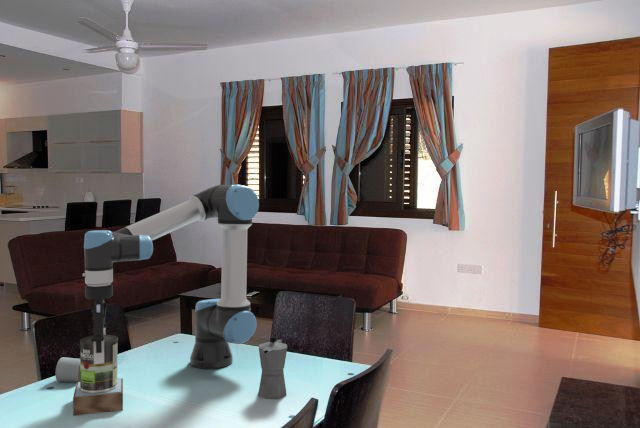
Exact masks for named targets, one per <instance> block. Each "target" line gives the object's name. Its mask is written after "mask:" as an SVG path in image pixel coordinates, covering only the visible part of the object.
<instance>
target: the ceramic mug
mask: <svg viewBox="0 0 640 428" xmlns="http://www.w3.org/2000/svg"><path fill="white" fill-rule="evenodd" d="M55 379H56V381H57V382H60V383H62V382H63V383H64V382H65V383H66V382H67V383H68V382H70V383H71V382H72V383H77V382H80V358H77V357H76V358H73V357H66V356H65V357H64V356H63V357H60V358H59V359H58V361H57V364H56V367H55Z"/></svg>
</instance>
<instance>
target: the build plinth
mask: <svg viewBox="0 0 640 428" xmlns="http://www.w3.org/2000/svg"><path fill="white" fill-rule="evenodd" d="M75 383H76V385H75V389H74V393H73V397H72V416H81V415H91V414H101V413H103V414H104V413H111V412H119V411H124V379H123V378H122V377H119V378H118V377H117V384H118V385H117V387H116V388H114V389H113V390H110V391H107V392H101V393H86V392H83V391H81V390H80V382H75Z"/></svg>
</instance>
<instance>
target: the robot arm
mask: <svg viewBox="0 0 640 428" xmlns="http://www.w3.org/2000/svg"><path fill="white" fill-rule="evenodd" d="M259 208H260V202H259V197H258V195H257V193H256V192H255V191H254V190H253V189H252V188H251V187H250V186H246V185H242V184H218V185H214V186H210V187H209V188H206V189H205V190H202V191H200V192H197V193H196V194H193V195H191V196H189V198H188V200H186V201H184V202H182V203H179V204H176V205H174V206H172V207H170V208H168V209H167V208H166V209H165V210H163V211H160V212H158V213H155V214H153V215H151V216H149V217H146V218H143V219H141V220H139V221H137V222H134V223H132V224H129V225H127V226H125V227H122V228H120V229H118V230H115V231H111V230H107V229H103V230H98V229H97V230H89V231H86V232H85V233H84V241H83V252H84V254H83V255H84V273H82V277H84V283H85V284H86V285H85V286H84V298H85V299H86V300H94V303H91V312H92V320H93V335H94V337H93V339H91V342H94V364H103V363H104V337H103V335H107V334H106V328H108V325H109V324H108V323H106V315H107V307H108V306H107V304H108V303H107V302H105V299H106V300H107V299H110V298H112V297H113V295H114V286H113V283H114V268H113V264H114V263H120V262H131V261H132V262H133V261H142V260H149V259H150V258H151V257H152V255H153V252H154V244H153V241H154V240H157V239H159V238H162V237H163V236H166V235H168V234H170V233H172V232H174V231H177V230H179V229H182V228H183V227H185V226H188V225H190V224H192V223H195V222H196V221H198V222H204V221H206V220H210V219H213V218H217V226H219V227H220V228H221V231H222V232H221V233H222V235H221V280H220V281H221V283H220V284H221V286H220V288H221V289H220V291H221V292H220V293H221V294H220V298H211V299H202V300H199V301H197V302H196V303H195V309H194V313H195V316H194V317H195V321H194V322H195V327H194V328H195V330H194V331H195V332H194V334H195V337H194V338H195V340H194V345H193V348H192V351H191V353H190V354H191V355H190V361H189V363H190V365H191V366H192V367H194V368H198V369H207V370H208V369H220V368H224V367H227V366H230V365H231V364H232V363H233V353H232V350H231V346H230V344H235V345H241V344H244V343H247V342H248V341H249V340H250V339H251V338H252V337H253V336H254V334H255V333H256V330H257V325H258V324H257V317H256V316H255V314H254V313H253V312H251V302H250V300H248V299H247V283H248V282H247V277H248V275H247V274H248V273H247V271H248V269H247V268H248V263H247V262H248V229H249V228H250V227H251V226H252V225H253V218H254V217H255V216H256V215H257V214H258V212H259Z"/></svg>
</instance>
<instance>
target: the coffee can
mask: <svg viewBox="0 0 640 428" xmlns="http://www.w3.org/2000/svg"><path fill="white" fill-rule="evenodd" d="M93 337H94V334H93V335H89V336H86V337H85V336H84V337H83V338H81V339H79V344H80V345H79V347H80V349H79V350H80V351H79V352H80V357H79V359H80V390H81V391H83V392H86V393H101V392H107V391H110V390H113V389H114V388H116V387H117V385H118V384H117V378H118V341H119V338H118V336H116V335H111V334H106V335H103V337H104V363H103V364H94V342H91V339H93Z"/></svg>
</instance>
